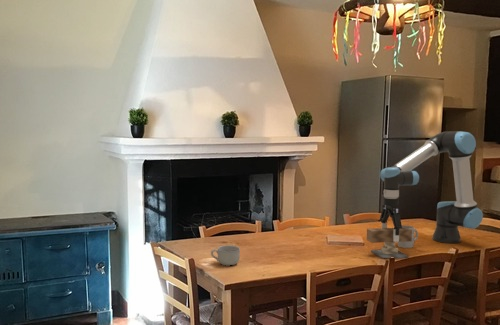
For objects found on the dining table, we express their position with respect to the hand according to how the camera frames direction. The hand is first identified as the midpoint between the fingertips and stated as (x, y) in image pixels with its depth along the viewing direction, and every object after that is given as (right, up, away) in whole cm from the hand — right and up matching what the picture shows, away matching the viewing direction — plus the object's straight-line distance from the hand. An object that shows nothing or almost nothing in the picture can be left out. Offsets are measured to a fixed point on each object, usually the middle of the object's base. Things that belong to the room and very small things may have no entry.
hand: (389, 238), depth 246 cm
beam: (0, -1, 0) cm, 1 cm away
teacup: (-84, -10, -18) cm, 87 cm away
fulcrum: (0, -9, +1) cm, 9 cm away
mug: (+16, -8, +20) cm, 26 cm away
